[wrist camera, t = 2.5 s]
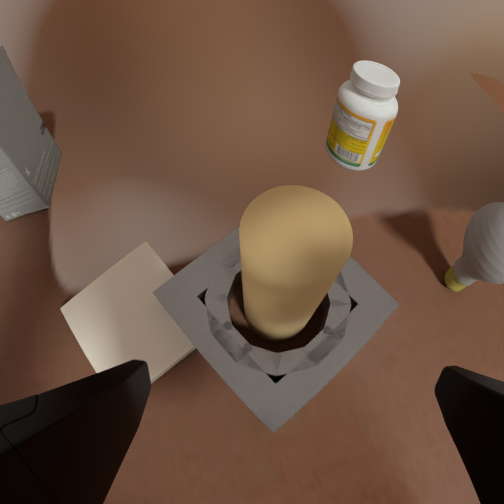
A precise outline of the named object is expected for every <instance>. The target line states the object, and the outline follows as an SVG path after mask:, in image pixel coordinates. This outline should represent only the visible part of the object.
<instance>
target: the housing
mask: <svg viewBox="0 0 504 504" xmlns="http://www.w3.org/2000/svg"><path fill="white" fill-rule="evenodd" d="M241 281H242V271H241V255H240V239H239V227H237V228H236V229H235V230H233V231H232V232H231V233H229V234H228V235H227V236H225V237H224V238H223V239H221V240H220V241H219V242H217V243H216V244H215V245H213V246H212V247H211V248H209V249H208V250H207V251H205V252H204V253H203V254H201V255H200V256H199V257H198V258H196V259H195V260H194V261H192V262H191V263H190V264H188V265H187V266H186V267H184V268H183V269H182V270H181V271H179V272H178V273H177V274H175V275H174V276H173V277H172V278H170V279H169V280H168V281H166V282H165V283H164V284H163V285H161V286H160V287H159V288H157V289H156V290H155V291H154V292H152V293H153V294H154V295H155V297H156V298H157V299H158V301H159V302H160V303H161V305H162V306H163V307H164V308H165V310H166V311H167V312H168V314H169V315H170V316H171V317H172V319H173V320H174V321H175V323H176V324H177V325H178V326H179V328H180V329H181V330H182V331H183V333H184V334H185V335H186V336H187V338H188V339H189V340H190V341H191V342H192V344H193V345H194V346H195V347H196V348H197V350H198V351H199V352H200V353H201V354H202V356H203V357H204V358H205V359H206V360H207V361H208V363H209V364H210V365H211V366H212V367H213V368H214V370H215V371H216V372H217V373H218V374H219V375H220V376H221V378H222V379H223V380H224V381H225V382H226V383H227V384H228V386H229V387H230V388H231V389H232V390H233V391H234V392H235V393H236V394H237V395H238V397H239V398H240V399H241V400H242V401H243V402H244V403H245V404H246V405H247V406H248V407H249V408H250V409H251V411H252V412H253V413H254V414H255V415H256V416H257V417H258V418H259V419H260V420H261V421H262V422H263V423H264V424H265V425H266V426H267V427H268V428H269V429H270V430H271V431H272V432H273V433H274V432H275V431H276V430H277V429H278V428H279V427H281V426H282V425H283V424H284V423H285V422H286V421H287V420H289V419H290V418H291V417H292V416H293V415H294V414H295V413H296V412H298V411H299V410H300V409H301V408H302V407H303V406H304V405H305V404H306V403H307V402H308V401H309V400H311V399H312V398H313V397H314V396H315V395H316V394H317V393H318V392H319V391H320V390H321V389H322V388H323V387H324V386H325V385H326V384H327V383H328V382H329V381H330V380H331V379H332V378H333V377H334V376H335V375H336V374H337V373H338V372H339V371H340V370H341V369H342V368H343V367H344V366H345V365H346V364H347V363H348V362H349V361H350V360H351V359H352V358H353V357H354V356H355V354H356V353H357V352H358V351H359V350H360V349H361V348H362V347H363V346H364V345H365V344H366V343H367V341H368V340H369V339H370V338H371V337H372V336H373V335H374V334H375V333H376V331H377V330H378V329H379V328H380V327H381V326H382V324H383V323H384V322H385V321H386V320H387V319H388V317H389V316H390V315H391V314H392V313H393V312H394V310H395V309H396V308H397V307H398V305H399V304H398V303H397V302H396V301H395V300H394V299H393V298H392V297H391V296H390V295H389V294H388V293H387V292H386V291H385V290H384V289H383V288H382V287H381V286H380V285H379V284H378V283H377V282H376V281H375V280H374V279H373V278H372V277H371V276H370V275H369V274H368V273H367V272H366V271H365V270H364V269H363V268H361V267H360V266H359V265H358V264H357V263H356V262H355V261H354V260H353V259H352V258H351V257H350V256H349V258H348V260H347V262H346V263H345V265H344V266H343V268H342V270H341V271H340V273H339V275H338V276H337V278H336V279H335V281H334V283H333V284H332V286H331V287H330V289H329V290H328V292H327V294H326V295H325V297H324V298H323V300H322V301H321V302H322V305H323V309H324V315H323V319H322V322H321V326H320V330H319V333H318V335H317V336H316V337H315V338H314V339H313V340H312V341H310V342H309V343H308V344H307V345H306V346H305V347H302V348H298V349H294V350H289V351H285V352H280V353H275V352H272V351H269V350H265V349H262V348H259V347H256V346H253V345H250V344H249V343H248V342H247V341H246V340H245V339H244V338H243V336H242V335H241V334H240V333H239V332H238V331H237V330H236V329H235V328H234V326H233V325H232V323H231V318H230V312H229V305H230V302H231V299H232V297H233V294H234V291H235V289H236V286H237V285H238V284H239V283H240V282H241ZM203 303H206V306H205V305H204V304H203ZM349 312H350V313H349ZM282 376H284V377H283V378H282V379H281V380H279V381H278V382H277V383H276V384H275V383H274V382H273V381H272V379H271V378H278V377H282ZM270 377H271V378H270Z"/></svg>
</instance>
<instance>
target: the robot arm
mask: <svg viewBox="0 0 504 504" xmlns="http://www.w3.org/2000/svg"><path fill="white" fill-rule="evenodd" d="M150 389H151V380H150V375H149V369H148V364H147V362H146V361H143V360H137V359H133V360H130V361H128V362H125V363H122V364H120V365H117V366H115V367H112V368H109V369H107V370H104V371H102V372H99V373H96V374H94V375H91V376H88V377H86V378H83V379H80V380H77V381H75V382H72V383H69V384H66V385H63V386H61V387H58V388H55V389H52V390H49V391H46V392H43V393H41V394H39V395H38V394H36V395H33V396H30V397H27V398H24V399H21V400H18V401H14V402H11V403H7V404H3V405H0V504H103V503H104V501H105V498H106V496H107V494H108V492H109V490H110V487H111V485H112V483H113V481H114V479H115V476H116V474H117V472H118V470H119V468H120V466H121V464H122V461H123V459H124V457H125V455H126V453H127V451H128V449H129V446H130V444H131V442H132V440H133V438H134V436H135V434H136V432H137V429H138V427H139V424H140V421H141V418H142V415H143V412H144V409H145V406H146V402H147V399H148V396H149V393H150ZM435 396H436V398H437V401H438V404H439V406H440V409H441V412H442V415H443V418H444V421H445V423H446V426H447V428H448V430H449V433H450V435H451V437H452V439H453V441H454V443H455V445H456V447H457V450H458V452H459V454H460V456H461V458H462V461H463V463H464V465H465V467H466V470H467V472H468V474H469V477H470V479H471V481H472V484H473V486H474V488H475V491H476V493H477V496H478V498H479V501H480V503H481V504H504V382H502V381H499V380H496V379H493V378H490V377H487V376H484V375H481V374H478V373H475V372H472V371H470V370H467V369H464V368H461V367H458V366H446V367H444V368H443V370H442V372H441V374H440V377H439V379H438V381H437V383H436V386H435Z"/></svg>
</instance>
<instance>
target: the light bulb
mask: <svg viewBox="0 0 504 504" xmlns="http://www.w3.org/2000/svg"><path fill="white" fill-rule="evenodd" d="M444 280H445V284H446V285H447V287H448V288H449V289H450V290H452V291H455V292H458V291H460V290H462V289H463V288H464V287H466V286H467V285H471V284H472V283H473V282H475V281H477V280H480V281H485V282H489V283H496V284H502V283H504V203H503V202H495V203H491V204H488V205H486V206H484V207H482V208H480V209H479V210H478V211H477V212H476V213H475V214H474V215H473V217H472V218H471V220H470V222H469V224H468V226H467V228H466V231H465V236H464V244H463V253H462V256H461V257H460V258H459V259H458V260H457V261H456V262H455V264H454V265H453V266H452V267H451V268H450V269H449V270H448V271H447V272H446V273H445V277H444Z"/></svg>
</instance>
